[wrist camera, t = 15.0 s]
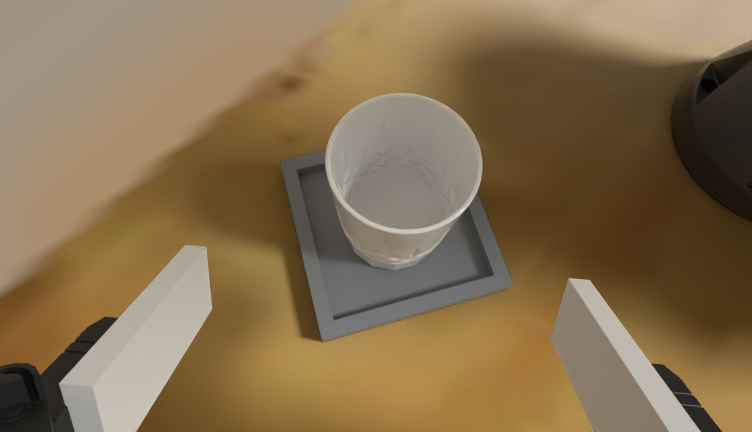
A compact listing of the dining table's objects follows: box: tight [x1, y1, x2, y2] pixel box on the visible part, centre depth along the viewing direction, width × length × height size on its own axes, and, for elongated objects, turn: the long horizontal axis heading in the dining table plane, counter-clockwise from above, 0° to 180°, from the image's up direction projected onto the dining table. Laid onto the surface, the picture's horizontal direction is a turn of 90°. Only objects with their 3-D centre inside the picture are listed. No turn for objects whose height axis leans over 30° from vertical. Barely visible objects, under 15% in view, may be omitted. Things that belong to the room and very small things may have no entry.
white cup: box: [325, 93, 482, 271], centre depth 27 cm, size 8×8×10 cm
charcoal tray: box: [280, 150, 514, 342], centre depth 31 cm, size 13×13×2 cm
